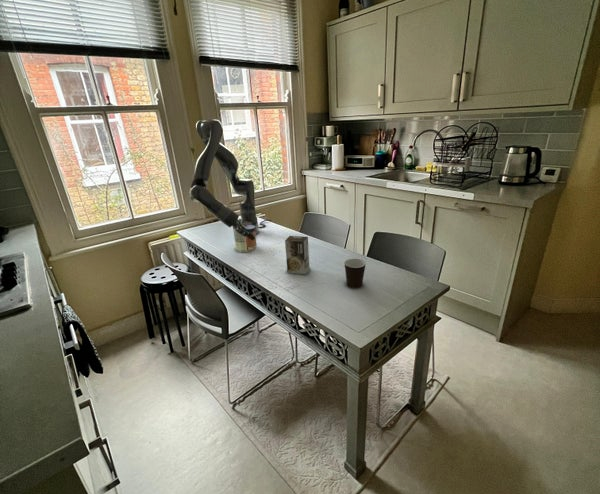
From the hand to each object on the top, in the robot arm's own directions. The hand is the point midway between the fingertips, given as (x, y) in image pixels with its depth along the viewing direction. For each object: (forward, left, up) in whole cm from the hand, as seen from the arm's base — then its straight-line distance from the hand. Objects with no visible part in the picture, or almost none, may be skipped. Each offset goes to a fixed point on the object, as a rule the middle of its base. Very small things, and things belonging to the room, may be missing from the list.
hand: (253, 236), depth 159 cm
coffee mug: (+7, +56, -11) cm, 57 cm away
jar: (+1, -1, -5) cm, 5 cm away
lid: (+1, -1, +5) cm, 5 cm away
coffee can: (-7, -12, -11) cm, 18 cm away
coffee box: (+6, +28, -11) cm, 31 cm away
